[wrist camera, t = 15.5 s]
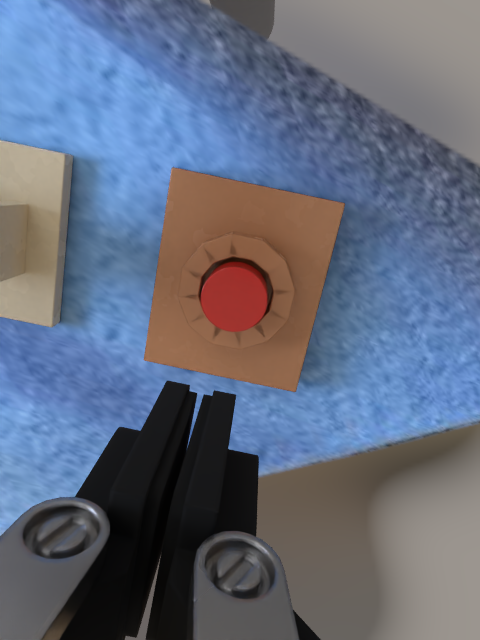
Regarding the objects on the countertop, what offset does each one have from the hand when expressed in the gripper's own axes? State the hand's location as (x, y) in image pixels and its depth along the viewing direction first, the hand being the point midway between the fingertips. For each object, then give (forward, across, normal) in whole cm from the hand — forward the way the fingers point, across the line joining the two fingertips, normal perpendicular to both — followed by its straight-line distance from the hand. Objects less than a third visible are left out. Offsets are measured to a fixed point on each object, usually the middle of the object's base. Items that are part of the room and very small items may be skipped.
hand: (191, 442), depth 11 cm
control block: (+19, 0, 0) cm, 19 cm away
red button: (+15, 0, 0) cm, 15 cm away
